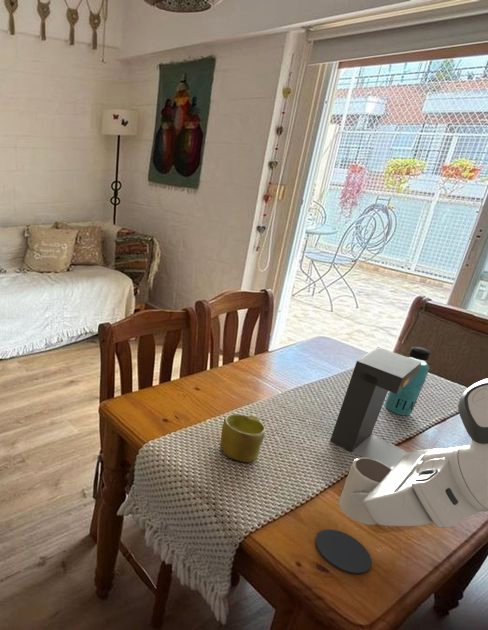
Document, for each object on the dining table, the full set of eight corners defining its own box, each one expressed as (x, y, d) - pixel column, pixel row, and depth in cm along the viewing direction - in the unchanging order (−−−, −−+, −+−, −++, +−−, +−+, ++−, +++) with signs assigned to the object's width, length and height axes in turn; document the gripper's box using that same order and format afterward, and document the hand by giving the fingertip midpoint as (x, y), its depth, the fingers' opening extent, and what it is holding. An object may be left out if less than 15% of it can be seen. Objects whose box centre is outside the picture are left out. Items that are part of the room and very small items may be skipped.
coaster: (382, 571, 78) (383, 569, 78) (337, 577, 77) (338, 575, 76) (345, 528, 86) (346, 526, 86) (304, 533, 85) (305, 532, 85)
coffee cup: (389, 523, 75) (407, 482, 71) (356, 527, 74) (373, 486, 70) (361, 494, 81) (376, 455, 77) (330, 497, 80) (344, 458, 76)
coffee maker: (411, 457, 106) (449, 371, 96) (392, 478, 99) (431, 389, 89) (349, 427, 116) (377, 346, 106) (328, 444, 109) (356, 360, 99)
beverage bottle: (387, 417, 120) (413, 353, 112) (378, 404, 126) (401, 342, 118) (414, 422, 118) (442, 357, 110) (404, 407, 124) (429, 345, 116)
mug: (249, 470, 97) (250, 426, 97) (210, 456, 106) (211, 415, 105) (279, 459, 104) (280, 417, 104) (240, 446, 113) (241, 408, 112)
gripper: (462, 433, 72) (376, 447, 83) (419, 488, 60) (326, 496, 71) (486, 470, 70) (396, 480, 81) (446, 534, 59) (347, 535, 70)
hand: (363, 488), depth 76 cm, fingers closed on coffee cup, 6 cm apart
